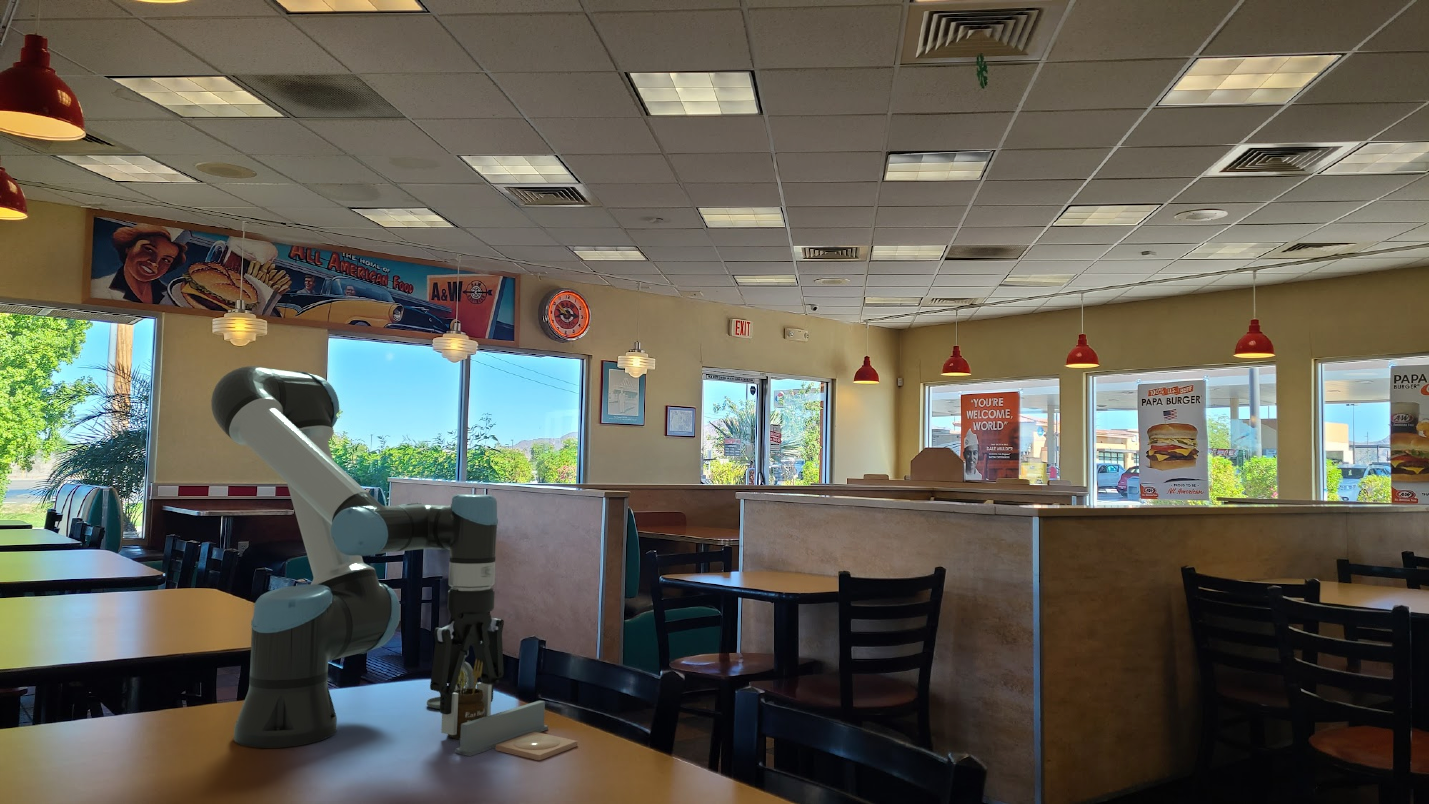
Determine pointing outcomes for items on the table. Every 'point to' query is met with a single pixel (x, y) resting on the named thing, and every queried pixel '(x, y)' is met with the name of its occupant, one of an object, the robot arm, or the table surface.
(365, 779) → the table surface
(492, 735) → the low wall
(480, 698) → the utensil holder
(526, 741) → the coaster
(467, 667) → the pocket watch
